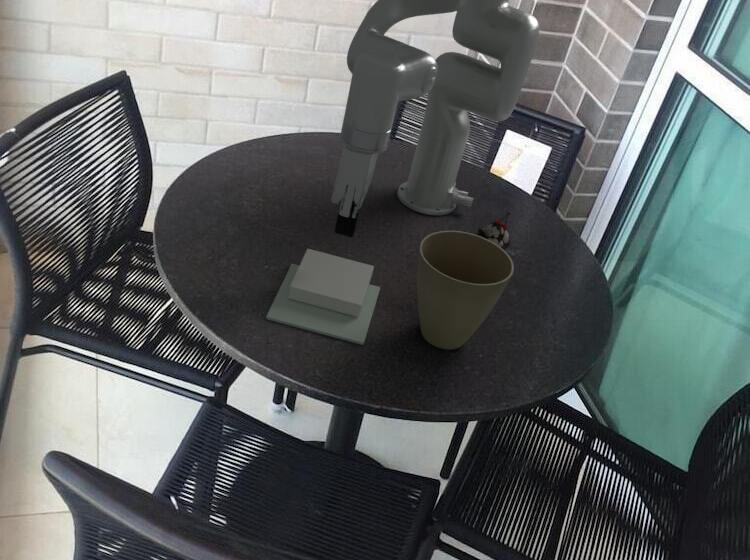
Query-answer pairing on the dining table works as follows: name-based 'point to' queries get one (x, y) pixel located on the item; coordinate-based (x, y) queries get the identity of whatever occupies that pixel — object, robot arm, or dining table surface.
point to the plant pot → (458, 285)
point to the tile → (331, 282)
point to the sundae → (496, 233)
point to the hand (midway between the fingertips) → (344, 232)
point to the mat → (322, 314)
